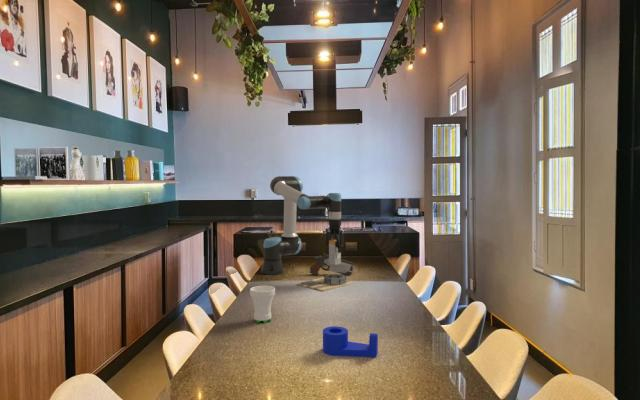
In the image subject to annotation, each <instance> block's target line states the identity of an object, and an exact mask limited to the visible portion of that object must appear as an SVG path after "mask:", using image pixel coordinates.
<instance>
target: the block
mask: <svg viewBox="0 0 640 400" xmlns="http://www.w3.org/2000/svg"><path fill="white" fill-rule="evenodd" d="M337 247H338V246H337V241H336V239H334V240H329V246H328V256H329V264H333V265H337V264H341V259H342V257H341V258H338V259H337Z"/></svg>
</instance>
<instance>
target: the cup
mask: <svg viewBox="0 0 640 400" xmlns="http://www.w3.org/2000/svg"><path fill="white" fill-rule="evenodd" d="M249 295H250V297H251V300H252V303H253V304H252V305H253V309H254V313H253V319H254V321H255V322H256V323H261V322H263V323H264V324H266V323H267V322H268V321H269V322H270V321H271V320H272V312H271V311H272V303H273V299H274V296H275V295H276V288H275V286H271V285H258V286H256V285H255V286H253V287H250V289H249Z"/></svg>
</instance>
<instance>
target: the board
mask: <svg viewBox="0 0 640 400" xmlns="http://www.w3.org/2000/svg"><path fill="white" fill-rule="evenodd" d="M311 280H312V281H317V282H321V283H322V284H317V285H313V286H309V285H305V284H301V283H302V282H303V281H302V282H296V285H297V286H300V287H305V288H309V289H313V290H316V291H319V292H326V291H327V292H328V291H330V290H334V289H338V288H342V287H346V286H350V285H353V284H355V282H354V281H350V280H346V284H342V285H329V284H325V283H324V276H323V277H319V278H316V279H311ZM306 281H307V280H305V281H304V282H306Z"/></svg>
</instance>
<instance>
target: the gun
mask: <svg viewBox="0 0 640 400" xmlns="http://www.w3.org/2000/svg"><path fill="white" fill-rule="evenodd" d="M313 259H314V260H316V262H315V263H313V264H311V265H310V267H309V270H308V274H311V275H314V276H318V275H319V271H320V269H322V271H325V272H329V271H330V272H334V273H335V274H341V275H345V276H346V277H347V276H350V275H352V274H353V273H354V268H355V264H354V262H352V261H349V260H345V259H342V258H341V264H337V265H333V264H329V254H327V253H324V252H323V253H322V256H321V255H319V256H314V257H313ZM326 267H327V268H326Z"/></svg>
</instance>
